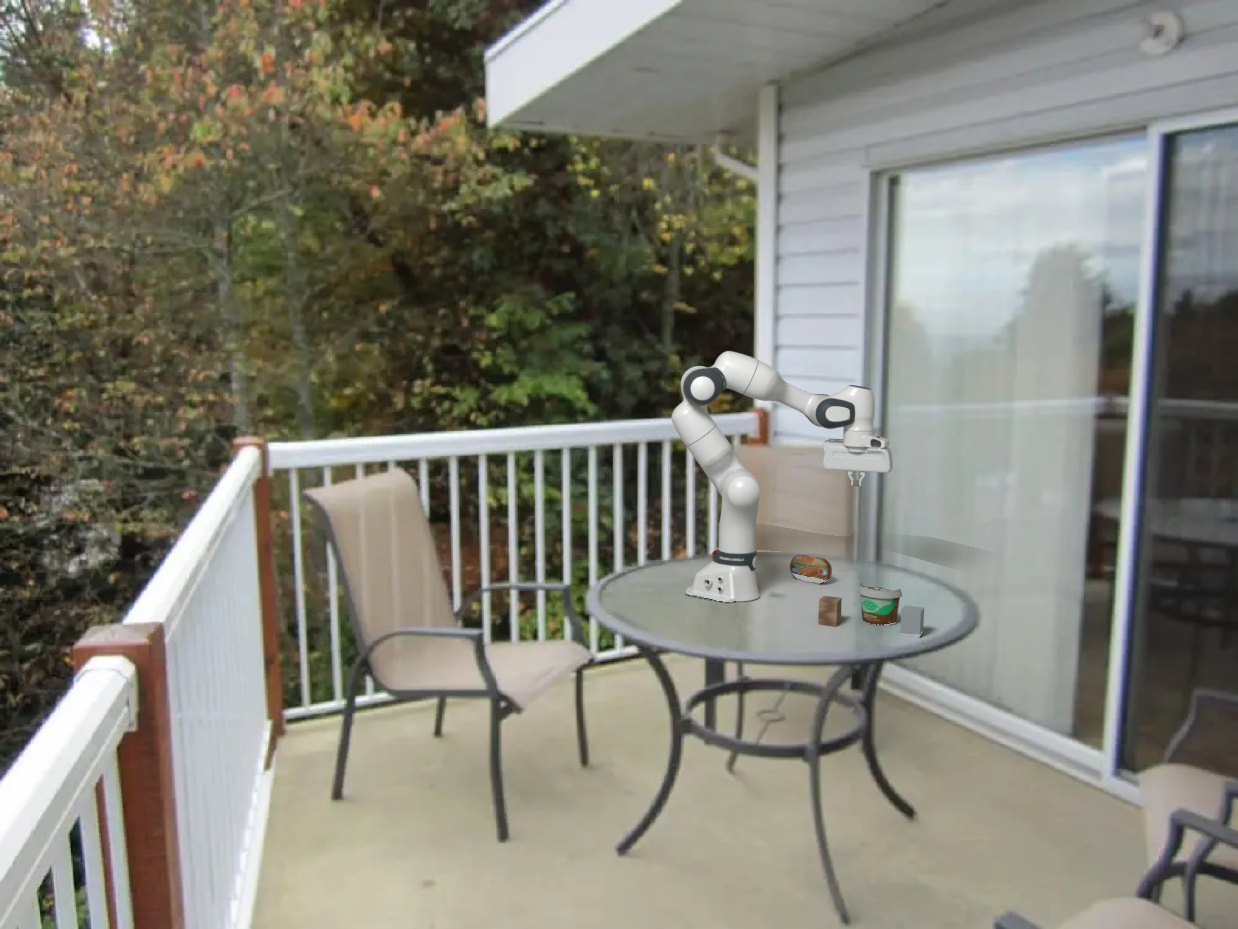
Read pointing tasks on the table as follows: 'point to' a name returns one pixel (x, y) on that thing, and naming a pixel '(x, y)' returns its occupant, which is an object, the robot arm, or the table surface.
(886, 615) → the food container
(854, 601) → the table surface
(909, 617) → the slate block
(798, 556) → the tin
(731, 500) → the robot arm
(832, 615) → the walnut block
